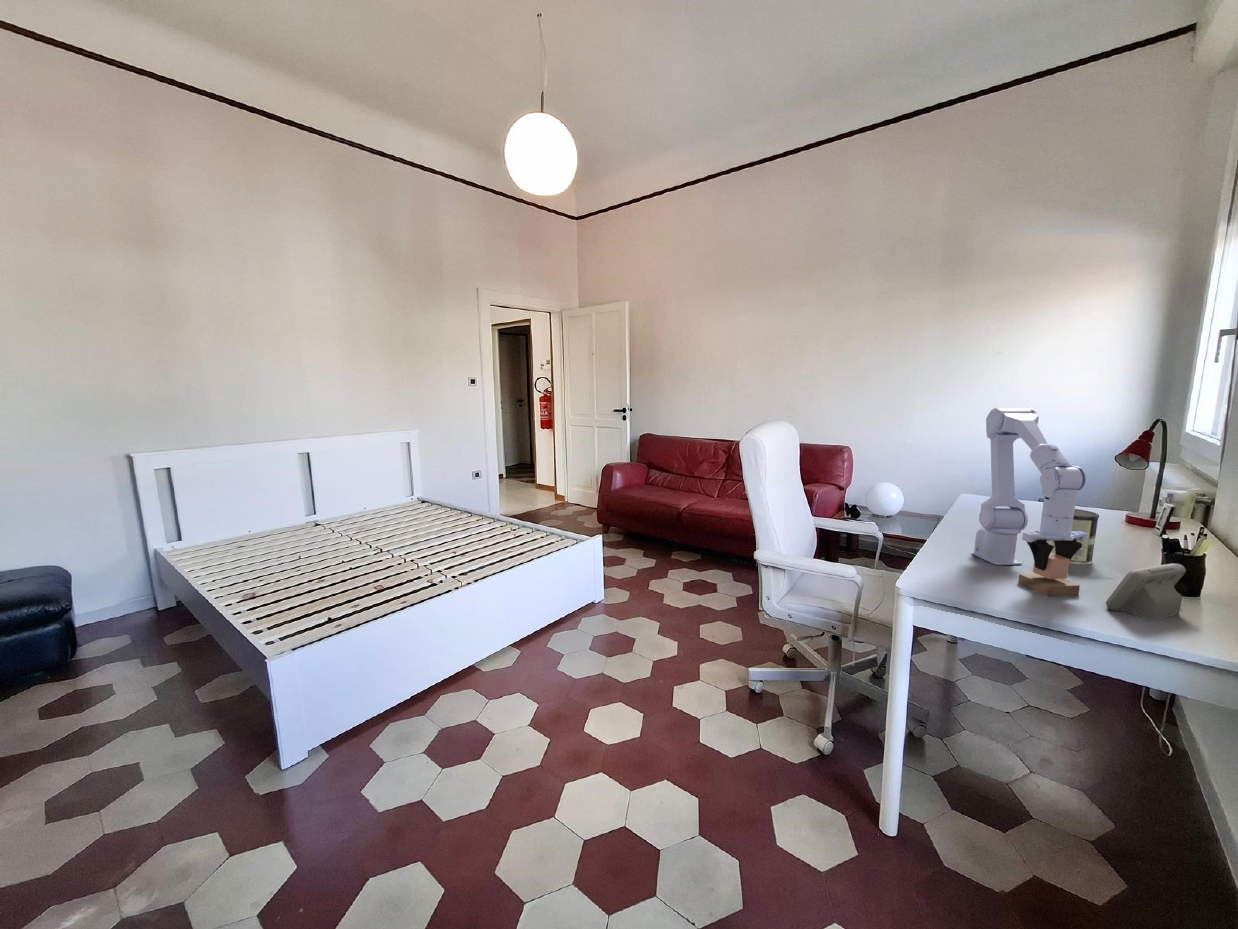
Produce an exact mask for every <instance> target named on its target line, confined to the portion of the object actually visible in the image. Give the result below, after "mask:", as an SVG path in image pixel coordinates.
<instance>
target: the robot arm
mask: <svg viewBox="0 0 1238 929" xmlns="http://www.w3.org/2000/svg"><path fill="white" fill-rule="evenodd" d="M1038 424H1039V414H1038V413H1037V412H1036V410H1035V409H1034V408H1033V407H1027V408H998V407H996V408H992V409H991V410H990V411H989V412H988V415H987V416H986V418H985V426H986V427H985V430H986V431H985V432H986V438H988V439H989V440H990V441H989V442H990V443H989V444H990V471H991V472H990V473H991V474H990V475H991V497H989V498H988V499H986V500H985V501H982V503H981V504H980V505H981V506H980V512H979V515H978V519H979V523H980V525H981V527H980V528H978V530H977V532H976V534H975V540H974V541H975V542H974V551H971V553H970V554H971V555H973V556H975V557H977V558H980V559H982V560H984V561H986V562H988V563H991V564H992V565H996V566H1002V565H1004V566H1007V565H1008V566H1009V565H1023V562H1022V561H1019V560H1017V559H1015V555H1016V549H1017V548H1016V547H1017V541H1018V534H1021V531H1023V532H1022V537H1021V538H1022V539H1021V540H1022V541H1024V542H1026V543H1027V546H1028V547H1029V548H1030V551H1031V554H1032V557H1033V561H1034V562H1035V567H1036V568H1038V569H1041V570H1045V569H1046V567H1047V563H1048V558H1049V555H1050V553H1051V551H1052V549H1053V548H1054V546H1053V545H1050V544H1048V542H1047V541H1054V544H1055V552H1056V553H1055V554H1057V555H1060V556H1063V557H1065V558H1068V559H1070V560H1071V558H1072V557H1073V555H1074V554H1075V553H1076V552H1077V551H1078V550H1079V549H1080V548H1082V543H1079V542H1077V540H1081V541H1086V540H1087V533H1085V532H1081V531H1072V524H1073V517H1074V510H1075V509H1076V502H1077V496H1078V495H1077V494H1078V491H1081V490H1083V488H1084V487H1085V485H1086V482H1087V476H1086V474H1085V471H1084V469H1083V468H1082V467H1080V466H1077V465H1074V464H1071V463H1070V462H1069V460H1067V458H1066V457H1065V455H1064V454H1063V453H1062V451H1061V450H1060V449H1059V447H1057V445H1055V444H1051V443H1048V442H1047V440H1046V438H1045V436H1044V434H1043V433H1042V431H1041V429H1040V427H1039V425H1038ZM1018 439H1022V441H1023V442H1024V443H1025V444H1026V445H1027V446H1028V447H1029V449H1030V450H1031V451H1030V454H1029V458H1030V459H1031V461H1032V462H1033V463H1034V465H1035V467H1036V468H1037V470H1038V471H1039V472H1040V473H1041V475H1040V476H1039V481H1040V485H1041V494H1042V496H1043V497H1044V498H1043V505H1042V511H1041V519H1040V525H1039V526H1040V528H1039V529H1038V530H1031V531H1026V532H1024V529H1026V527H1027V525H1028V521H1029V519H1028V515H1027V513H1026V507H1025V504H1024V503H1023V502H1021V501H1020V500H1019V499H1017V498H1016V497H1015V496H1016V491H1015V465H1014V464H1015V462H1014V443H1015V441H1017V440H1018ZM998 507H999V508H998ZM1001 507H1004V508H1001ZM1005 507H1007V508H1005ZM1034 562H1033V563H1034Z"/></svg>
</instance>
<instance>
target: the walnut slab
mask: <svg viewBox="0 0 1238 929" xmlns="http://www.w3.org/2000/svg"><path fill="white" fill-rule="evenodd" d="M1018 584H1019V585H1020V586H1023V587H1025V588H1027V589H1029V590H1031V591H1034V592H1035V593H1037V594H1039V595H1042V596H1043V597H1047V598H1048V597H1050V598H1051V597H1072V596H1073V597H1076V596H1078V597H1079V594H1080V587H1081V585H1080V584H1077V583H1075V582H1072V581H1071V580H1068V579H1048V578H1046V577H1043V576H1041V575H1039V574H1036V573H1034V572H1032V573H1030V572H1029V573H1019V574H1018Z"/></svg>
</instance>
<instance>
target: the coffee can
mask: <svg viewBox="0 0 1238 929" xmlns="http://www.w3.org/2000/svg"><path fill="white" fill-rule="evenodd" d="M1099 518H1100V514H1098V513H1096V512H1093V511H1091V510H1090V511H1089V510H1085V509H1077V508H1075V510H1074V517H1073V524H1072V531H1081V532H1085V533H1087V540H1086V541H1081V540H1077V542H1079V543H1082V548H1080V549H1079V550H1078V551H1077V552H1076V553H1075V554H1074V555H1073V557H1072V558H1071V560H1070V562H1069V565H1080V566H1081V565H1083V566H1086V565H1087V566H1088V565H1092V564H1093V557H1094V556H1093V555H1094V549H1095V542H1096V535H1097V528H1098V521H1099ZM1047 542H1048V544H1050V545H1053V546H1054V548H1053V549H1052V551H1051V553H1054V554H1055V553H1056V552H1055V544H1054V541H1047Z"/></svg>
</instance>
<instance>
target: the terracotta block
mask: <svg viewBox="0 0 1238 929" xmlns="http://www.w3.org/2000/svg"><path fill="white" fill-rule="evenodd" d="M1069 562H1070V559H1068V558H1065V557H1063V556H1060V555H1057V554H1054V553H1050V555H1049V558H1048V563H1047V567H1046V569H1045V570H1041V569H1038V568H1036V567H1035V562H1033V568H1032V573H1036V574H1039V575H1041V576H1043V577H1046V578H1048V579H1066V580H1068V579H1067V578H1068V572H1069V566H1070V563H1069Z"/></svg>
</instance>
